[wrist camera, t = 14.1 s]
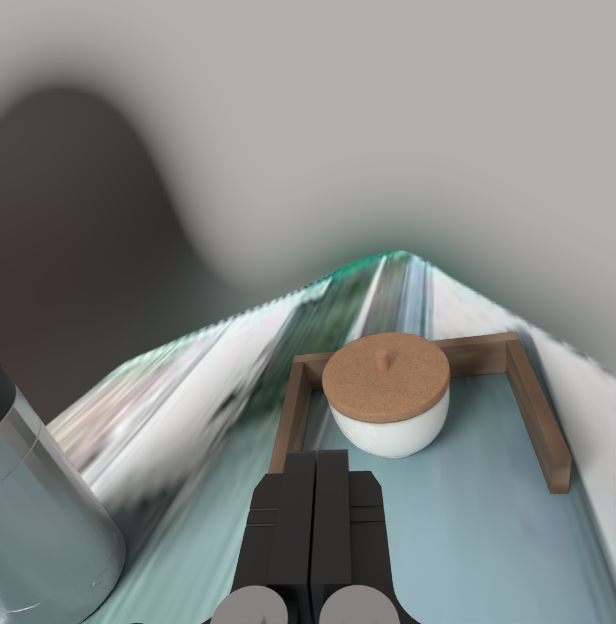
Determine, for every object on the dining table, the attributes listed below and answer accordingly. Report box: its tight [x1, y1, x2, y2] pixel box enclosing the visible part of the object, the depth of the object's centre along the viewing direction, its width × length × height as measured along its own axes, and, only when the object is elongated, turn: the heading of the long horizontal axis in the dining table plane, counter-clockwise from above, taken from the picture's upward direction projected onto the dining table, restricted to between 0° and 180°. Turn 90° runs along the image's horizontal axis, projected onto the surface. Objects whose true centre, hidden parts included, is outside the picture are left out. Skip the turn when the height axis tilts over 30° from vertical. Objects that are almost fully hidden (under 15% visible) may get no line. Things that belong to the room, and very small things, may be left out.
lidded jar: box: [322, 332, 450, 459], centre depth 41 cm, size 11×11×9 cm
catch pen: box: [268, 332, 572, 494], centre depth 42 cm, size 22×15×4 cm
